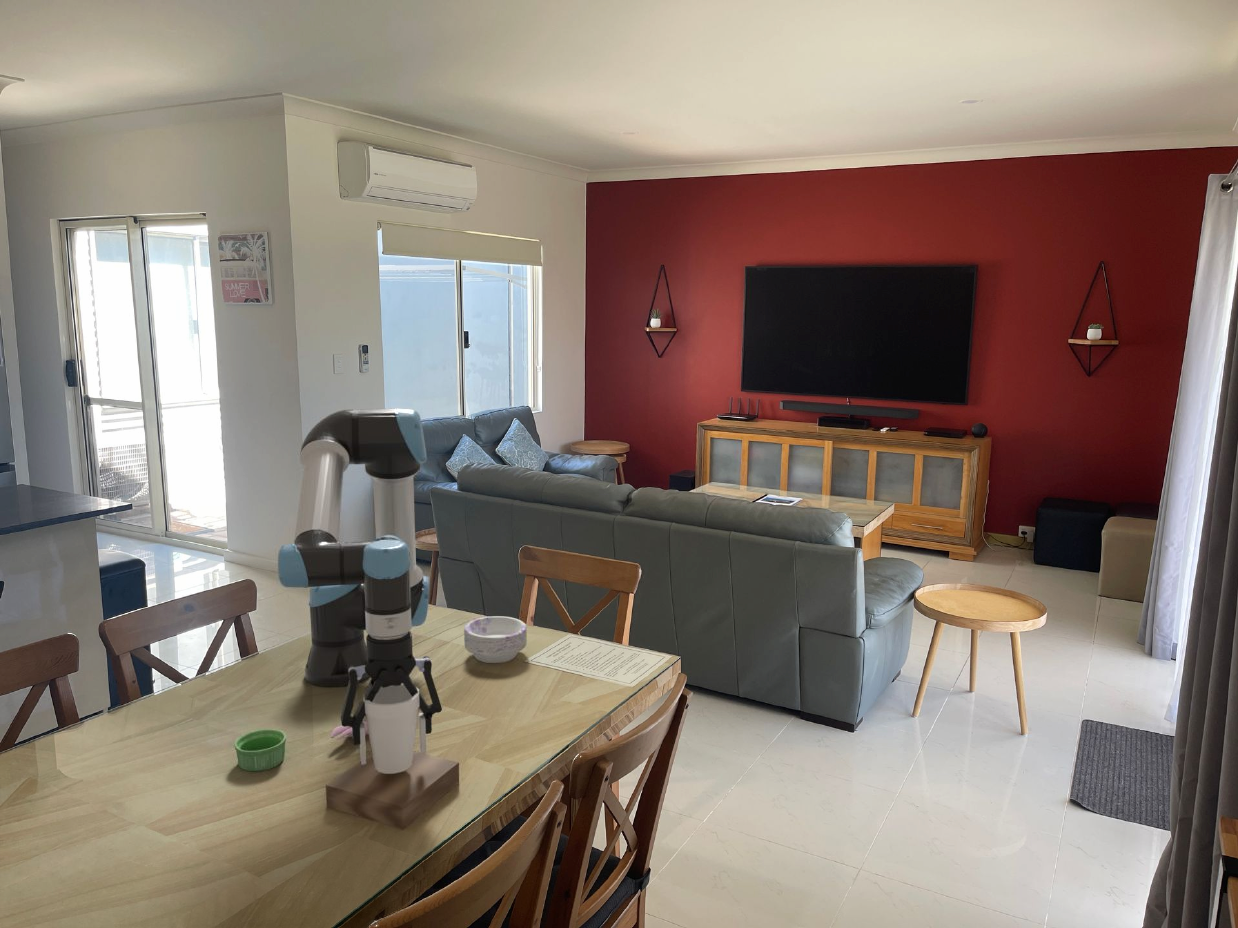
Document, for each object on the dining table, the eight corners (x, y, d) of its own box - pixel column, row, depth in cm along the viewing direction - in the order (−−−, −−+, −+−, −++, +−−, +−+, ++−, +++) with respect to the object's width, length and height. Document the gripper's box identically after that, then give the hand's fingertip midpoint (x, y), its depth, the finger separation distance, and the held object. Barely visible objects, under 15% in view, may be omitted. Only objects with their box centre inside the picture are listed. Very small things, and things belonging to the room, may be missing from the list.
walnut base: (326, 806, 150) (325, 784, 149) (387, 763, 164) (386, 743, 164) (403, 829, 144) (402, 806, 143) (459, 782, 158) (458, 762, 157)
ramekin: (297, 754, 168) (296, 733, 167) (264, 777, 160) (262, 754, 159) (259, 746, 171) (258, 725, 170) (224, 768, 162) (223, 746, 162)
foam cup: (406, 781, 148) (404, 708, 145) (355, 774, 149) (352, 702, 147) (429, 754, 157) (428, 685, 155) (381, 748, 159) (379, 680, 156)
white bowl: (522, 668, 209) (522, 637, 208) (459, 668, 210) (458, 636, 208) (530, 645, 224) (530, 615, 223) (470, 644, 225) (470, 614, 223)
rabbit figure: (371, 724, 184) (320, 743, 170) (373, 695, 184) (323, 713, 170) (395, 729, 181) (346, 750, 167) (397, 701, 181) (348, 719, 167)
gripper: (321, 648, 142) (327, 777, 145) (458, 632, 150) (461, 754, 153) (319, 632, 149) (325, 756, 152) (450, 618, 156) (453, 735, 160)
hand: (393, 755), depth 153 cm, fingers closed on foam cup, 9 cm apart
